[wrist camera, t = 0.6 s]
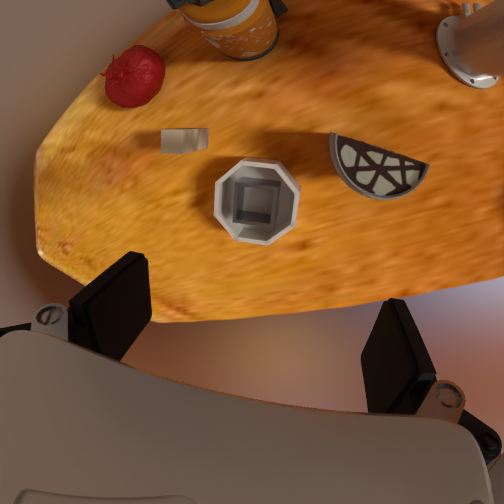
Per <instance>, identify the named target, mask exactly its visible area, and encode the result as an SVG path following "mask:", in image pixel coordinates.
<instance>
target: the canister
mask: <svg viewBox="0 0 504 504" xmlns="http://www.w3.org/2000/svg"><path fill="white" fill-rule="evenodd" d="M166 1H167V2H168V4H169V5H170V7H171V8H172V9H178V8H179V9H180V11H181V13H182V15H183V16H184V20H185V21H186V23H187V25H188V26H189V27H190V28H191V29H192V30H194V31H195V32H196V33H198V34H199V35H200V36H202V37H203V38H204V39H206V40H207V41H208V42H210V43H211V44H212V45H214V46H215V47H216V48H218V49H219V50H220V51H221V52H223V53H224V54H225V55H227V56H228V57H230V58H232V59H236V60H241V61H249V60H255V59H258V58H260V57H263V56H264V55H266V54H267V53H269V52H270V51H271V50H272V49H273V48H274V46H275V45H276V43H277V41H278V37H279V29H278V25H277V22H276V20H275V17H274V14H275V15H276V17H277V18H278V17H279V16H281V15H282V14H283V13H285V12H286V11H288V9H287V7H286V6H285V5H284V4H283V2H282V1H281V0H166ZM273 13H274V14H273Z"/></svg>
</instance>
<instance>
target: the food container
mask: <svg viewBox="0 0 504 504" xmlns="http://www.w3.org/2000/svg"><path fill="white" fill-rule="evenodd" d="M329 150H330V156H331V159H332V162H333V165H334V167H335V169H336V171H337V173H338V174H339V176H340V177H341V179H342V180H343V181H344V182H345V183H346V184H347V185H348V186H349V187H350V188H352V189H353V190H354V191H356V192H358V193H359V194H361V195H364V196H366V197H369V198H374V199H380V200H390V199H396V198H400V197H402V196H405V195H407V194H409V193H410V192H412V191H413V190H414V189H415V188H416V187H417V186H419V185H420V183H421V182H422V181H423V179H424V178H425V176H426V174H427V172H428V170H429V167H430V165H429V164H426V163H424V162H421V161H418V160H415V159H412V158H409V157H406V156H404V155H400V154H397V153H394V152H393V151H389V150H386V149H383V148H380V147H377V146H374V145H370V144H367V143H365V142H363V141H362V142H361V141H357V140H354V139H352V138H347V137H344V136H340V135H338V134H337V133H332V132H330V137H329Z"/></svg>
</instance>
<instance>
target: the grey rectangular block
mask: <svg viewBox="0 0 504 504" xmlns="http://www.w3.org/2000/svg"><path fill="white" fill-rule="evenodd" d="M208 132H209V128H179V129H162V130H161V153H167V154H185V153H189V152H193V151H197V150H201V149H206V148H208Z"/></svg>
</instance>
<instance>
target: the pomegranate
mask: <svg viewBox="0 0 504 504" xmlns="http://www.w3.org/2000/svg"><path fill="white" fill-rule="evenodd" d="M101 75H102V76H106V82H105V92H106V95H107V96H108V98H109V99H110V100H111V101H112V102H113V103H115V104H116V105H119V106H121V107H128V108H132V107H139V106H143V105H145V104H147V103H148V102H149V101H150V100H151V99H152V98H153V97H154V96H155V95H157V93H158V92H159V91H160V89H161V86H162V83H163V80H164V77H165V65H164V63H163V61H162V59H161V58H160V57H159V56H158V54H157V53H156V52H155V51H153V50H152V49H150V48H148V47H145V46H142V45H135V46H133V47H131V48H130V49H128V50H126V51H125V52H124V53H123V54H122V55H121V56H120V57H119V58H118V59H116V60H114V55H113V61H112V63H111V64H110V65H109V66H108V69H107V70H106V74H102V73H101Z"/></svg>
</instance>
